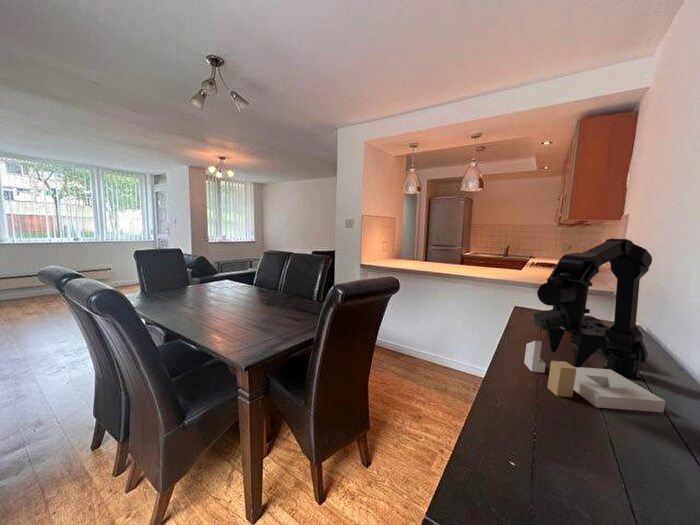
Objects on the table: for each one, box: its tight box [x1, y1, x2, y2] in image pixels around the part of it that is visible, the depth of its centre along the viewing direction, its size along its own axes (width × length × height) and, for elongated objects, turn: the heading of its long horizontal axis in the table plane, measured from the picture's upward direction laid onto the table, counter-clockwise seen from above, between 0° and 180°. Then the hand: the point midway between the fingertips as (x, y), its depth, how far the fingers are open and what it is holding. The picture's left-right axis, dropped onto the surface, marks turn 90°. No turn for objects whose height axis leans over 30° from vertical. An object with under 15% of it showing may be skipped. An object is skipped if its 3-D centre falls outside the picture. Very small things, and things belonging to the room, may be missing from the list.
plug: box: [547, 360, 576, 398], centre depth 77 cm, size 4×4×8 cm
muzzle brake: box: [582, 315, 610, 360], centre depth 109 cm, size 10×28×10 cm, turn 158°
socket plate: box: [573, 366, 666, 413], centre depth 79 cm, size 16×16×3 cm
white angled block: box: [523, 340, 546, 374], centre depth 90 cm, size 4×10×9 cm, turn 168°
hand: (564, 358), depth 77 cm, fingers open, 9 cm apart
